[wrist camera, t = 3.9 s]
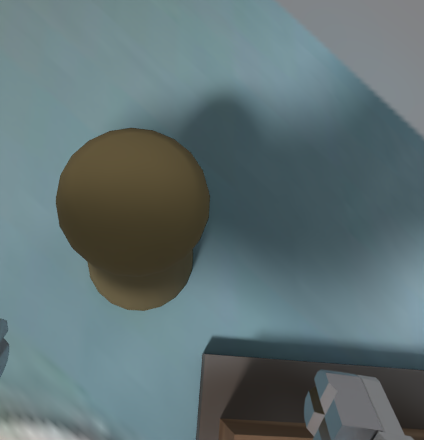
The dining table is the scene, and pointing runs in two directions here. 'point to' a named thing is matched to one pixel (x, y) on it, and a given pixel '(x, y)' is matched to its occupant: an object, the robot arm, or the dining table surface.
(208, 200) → the cork
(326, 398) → the robot arm
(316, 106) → the dining table surface
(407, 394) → the collar
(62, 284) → the dining table surface
